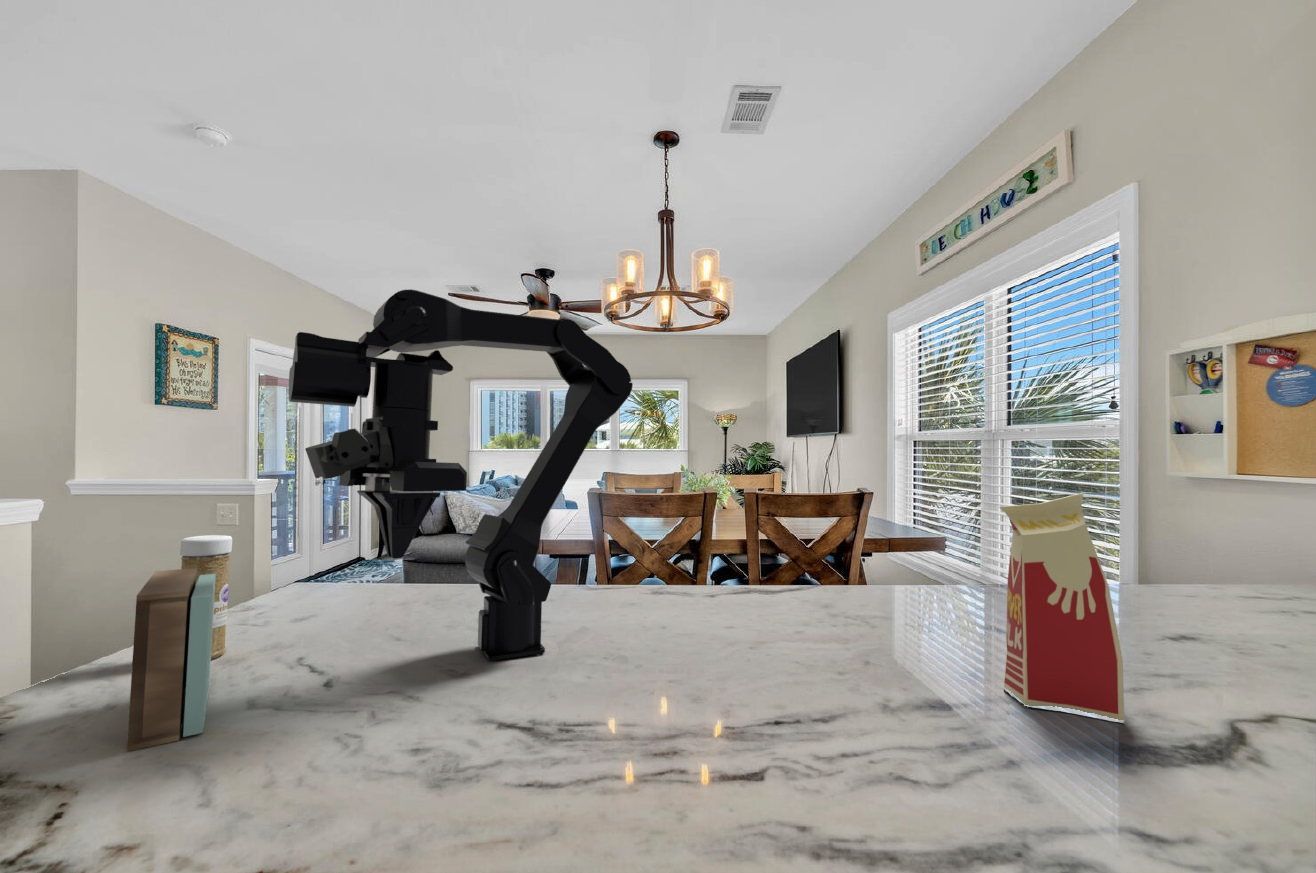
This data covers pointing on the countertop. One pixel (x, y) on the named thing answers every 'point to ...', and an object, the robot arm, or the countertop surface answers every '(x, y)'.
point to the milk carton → (1060, 613)
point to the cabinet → (160, 658)
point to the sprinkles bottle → (214, 559)
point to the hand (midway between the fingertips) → (395, 557)
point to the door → (199, 654)
